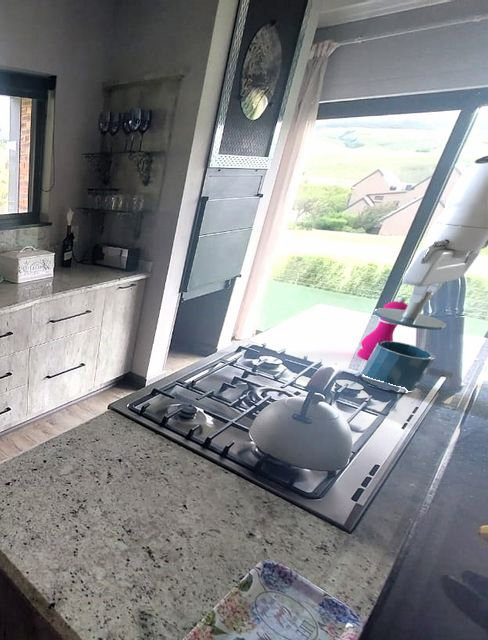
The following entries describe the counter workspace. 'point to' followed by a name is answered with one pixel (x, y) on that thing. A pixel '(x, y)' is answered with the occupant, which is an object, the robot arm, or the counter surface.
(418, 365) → the cup
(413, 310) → the lid
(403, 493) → the counter surface
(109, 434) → the counter surface
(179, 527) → the counter surface
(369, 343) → the pepper mill
